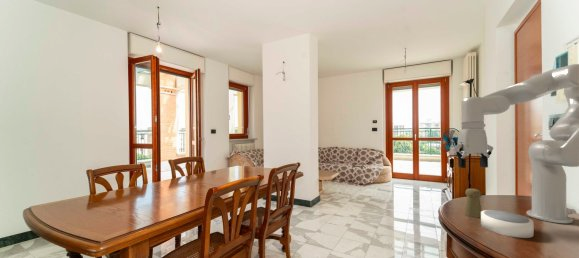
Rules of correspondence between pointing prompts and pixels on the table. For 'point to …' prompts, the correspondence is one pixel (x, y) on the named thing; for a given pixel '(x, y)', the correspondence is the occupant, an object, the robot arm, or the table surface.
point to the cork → (473, 203)
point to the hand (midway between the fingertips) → (473, 167)
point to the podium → (507, 223)
